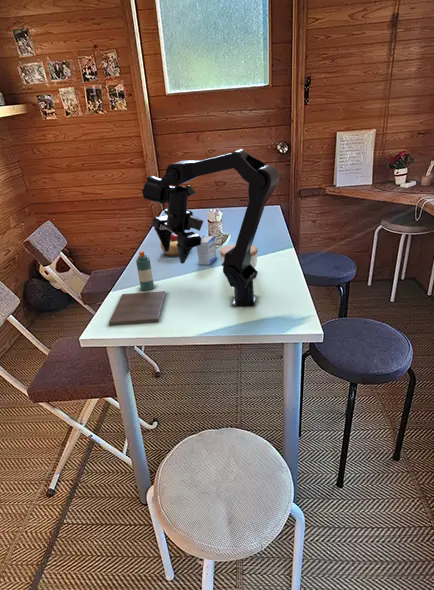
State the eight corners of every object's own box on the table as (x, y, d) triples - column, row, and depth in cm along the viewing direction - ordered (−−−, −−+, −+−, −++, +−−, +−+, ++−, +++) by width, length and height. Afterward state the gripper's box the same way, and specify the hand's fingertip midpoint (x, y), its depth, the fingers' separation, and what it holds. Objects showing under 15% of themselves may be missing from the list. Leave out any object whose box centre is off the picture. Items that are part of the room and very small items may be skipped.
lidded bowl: (249, 265, 157) (247, 235, 152) (264, 276, 147) (263, 244, 141) (216, 272, 154) (214, 242, 148) (230, 284, 143) (227, 252, 138)
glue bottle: (151, 290, 144) (146, 254, 138) (139, 290, 145) (132, 254, 139) (155, 285, 148) (150, 249, 142) (143, 285, 149) (137, 249, 143)
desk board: (158, 322, 123) (157, 318, 123) (109, 325, 124) (108, 322, 123) (165, 293, 141) (165, 290, 140) (122, 296, 141) (122, 294, 141)
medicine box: (209, 265, 161) (207, 242, 157) (198, 264, 162) (196, 242, 158) (216, 258, 167) (214, 236, 163) (205, 257, 169) (203, 235, 165)
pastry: (157, 257, 174) (153, 235, 170) (169, 247, 184) (166, 226, 179) (184, 258, 170) (181, 235, 166) (195, 248, 180) (193, 227, 176)
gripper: (218, 215, 124) (213, 265, 133) (183, 195, 136) (180, 242, 145) (186, 219, 118) (182, 271, 127) (151, 198, 130) (150, 247, 139)
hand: (174, 257), depth 135 cm, fingers open, 9 cm apart
